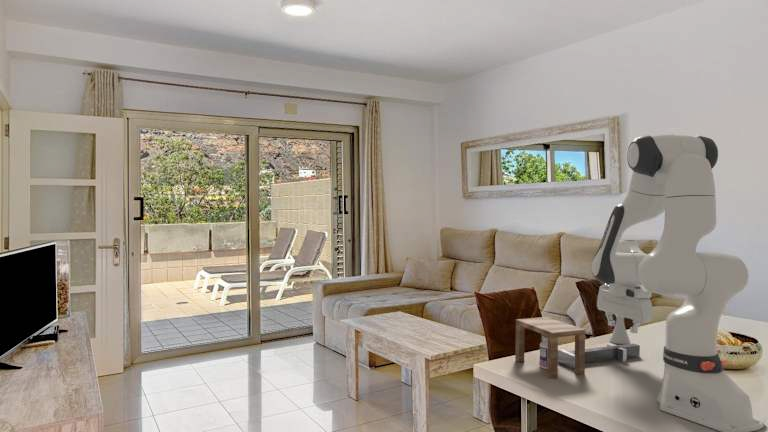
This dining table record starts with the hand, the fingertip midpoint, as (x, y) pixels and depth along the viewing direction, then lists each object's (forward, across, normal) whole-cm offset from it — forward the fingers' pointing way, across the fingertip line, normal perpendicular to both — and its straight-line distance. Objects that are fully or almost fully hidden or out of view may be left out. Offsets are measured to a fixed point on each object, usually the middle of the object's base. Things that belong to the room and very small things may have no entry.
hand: (622, 329), depth 167 cm
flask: (+10, -14, +14) cm, 22 cm away
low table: (+9, +1, -30) cm, 32 cm away
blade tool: (+9, +1, -9) cm, 13 cm away
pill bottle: (+9, +1, -30) cm, 32 cm away
